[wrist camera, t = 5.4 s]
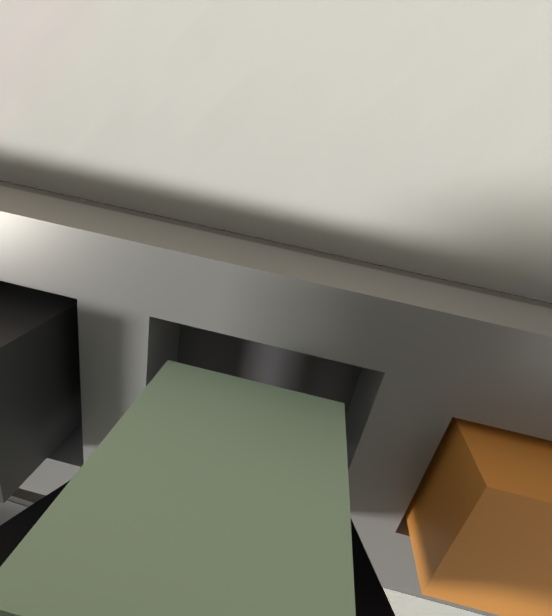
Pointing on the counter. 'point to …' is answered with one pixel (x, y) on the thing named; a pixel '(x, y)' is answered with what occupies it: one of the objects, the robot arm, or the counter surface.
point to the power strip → (251, 348)
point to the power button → (486, 521)
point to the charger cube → (198, 510)
